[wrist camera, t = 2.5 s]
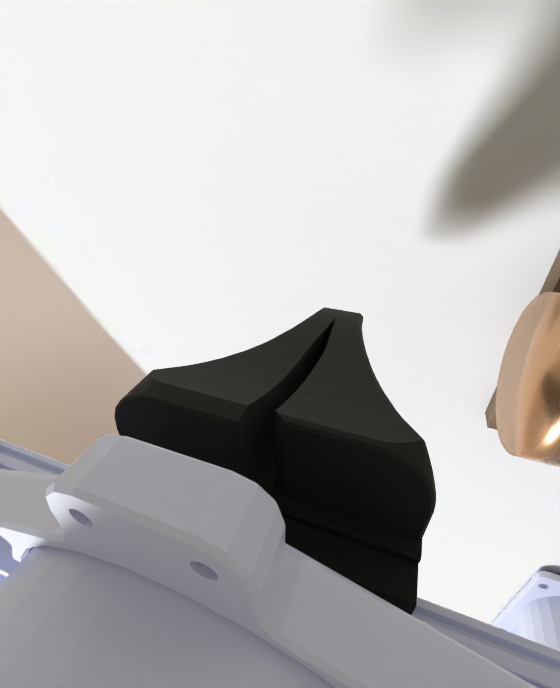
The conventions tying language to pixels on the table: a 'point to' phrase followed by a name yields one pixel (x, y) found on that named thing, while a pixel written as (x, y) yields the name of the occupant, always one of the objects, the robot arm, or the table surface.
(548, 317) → the tan flared rod
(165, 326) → the table surface
